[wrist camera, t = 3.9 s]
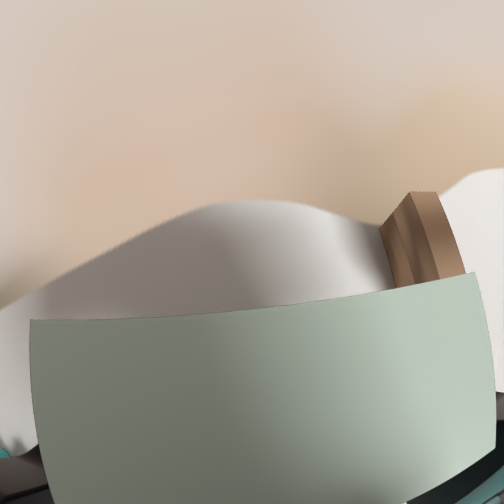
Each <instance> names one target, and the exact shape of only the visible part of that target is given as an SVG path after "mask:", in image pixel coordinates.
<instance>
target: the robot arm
mask: <svg viewBox="0 0 504 504" xmlns="http://www.w3.org/2000/svg"><path fill="white" fill-rule="evenodd" d="M406 503H407V504H504V393H502V392H496V443H495V448H494V449H493V450H492V451H490V452H489V453H488V454H486V455H485V456H484V457H482V458H481V459H480V460H478V461H477V462H475V463H474V464H472V465H471V466H469V467H468V468H466V469H465V470H463V471H462V472H460V473H459V474H457V475H455V476H454V477H452V478H450V479H449V480H447V481H445V482H444V483H442V484H440V485H438V486H436V487H435V488H433V489H431V490H429V491H427V492H425V493H423V494H421V495H419V496H417V497H415V498H413V499H411V500H409V501H407V502H406ZM0 504H55V503H54V500H53V497H52V494H51V491H50V487H49V484H48V481H47V477H46V473H45V469H44V465H43V461H42V457H41V452H40V448H39V444H38V445H36V446H35V447H34V448H32V449H31V450H30V451H28V452H27V453H25V454H23V455H20V456H16V457H0Z"/></svg>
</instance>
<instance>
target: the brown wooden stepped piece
mask: <svg viewBox="0 0 504 504" xmlns="http://www.w3.org/2000/svg"><path fill="white" fill-rule="evenodd" d="M379 229H380V232H381V235H382V238H383V242H384V245H385V248H386V252H387V255H388V259H389V263H390V266H391V270H392V274H393V278H394V282H395V286H396V288H400V287H405V286H411V285H416V284H421V283H426V282H430V281H435V280H440V279H445V278H449V277H454V276H458V275H462V274H466V272H465V269H464V265H463V262H462V259H461V256H460V253H459V250H458V247H457V244H456V241H455V238H454V235H453V232H452V230H451V227H450V224H449V222H448V219H447V217H446V214H445V212H444V209H443V207H442V204H441V202H440V200H439V197H438V195H437V193H436V192H409V193H408V194H407V196H406V197H405V198H404V199H403V201H402V202H401V203H400V204H399V206H398V207H397V208H396V209H395V211H394V212H393V213H392V214H391V215H390V216H389V218H388V219H387V220H386V221H385V222H384V224H383V225H382V226H381V227H380V228H379Z"/></svg>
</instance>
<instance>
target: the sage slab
mask: <svg viewBox="0 0 504 504" xmlns="http://www.w3.org/2000/svg"><path fill="white" fill-rule="evenodd" d="M29 351H30V380H31V393H32V403H33V411H34V419H35V426H36V432H37V437H38V443H39V448H40V452H41V457H42V461H43V465H44V469H45V473H46V477H47V481H48V484H49V487H50V491H51V494H52V497H53V500H54V503H55V504H402V503H404V502H407V501H409V500H411V499H413V498H415V497H417V496H419V495H421V494H423V493H425V492H427V491H429V490H431V489H433V488H435V487H436V486H438V485H440V484H442V483H444V482H445V481H447V480H449V479H450V478H452V477H454V476H455V475H457V474H459V473H460V472H462V471H463V470H465V469H466V468H468V467H469V466H471V465H472V464H474V463H475V462H477V461H478V460H480V459H481V458H482V457H484V456H485V455H486V454H488V453H489V452H490V451H492V450H493V449H494V448H495V443H496V391H495V377H494V366H493V357H492V350H491V343H490V336H489V331H488V325H487V320H486V315H485V310H484V306H483V301H482V297H481V293H480V289H479V285H478V282H477V278H476V274H475V272H471V273H467V274H462V275H458V276H454V277H449V278H445V279H440V280H435V281H430V282H426V283H421V284H416V285H411V286H405V287H400V288H395V289H389V290H384V291H378V292H372V293H367V294H361V295H354V296H348V297H342V298H335V299H329V300H322V301H315V302H307V303H300V304H292V305H284V306H276V307H268V308H259V309H249V310H240V311H230V312H219V313H207V314H195V315H181V316H166V317H149V318H128V319H96V320H30V342H29Z"/></svg>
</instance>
